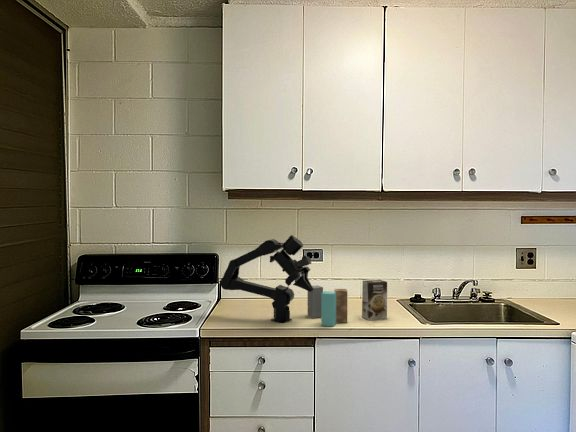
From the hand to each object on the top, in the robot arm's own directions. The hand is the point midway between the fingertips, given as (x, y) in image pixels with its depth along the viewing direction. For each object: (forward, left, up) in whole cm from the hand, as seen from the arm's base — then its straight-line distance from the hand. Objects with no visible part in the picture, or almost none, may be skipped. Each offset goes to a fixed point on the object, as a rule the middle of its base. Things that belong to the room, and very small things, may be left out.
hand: (312, 290), depth 183 cm
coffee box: (+15, +25, -14) cm, 32 cm away
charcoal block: (-6, +9, -14) cm, 17 cm away
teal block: (+7, +3, -14) cm, 15 cm away
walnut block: (+7, +11, -14) cm, 19 cm away
